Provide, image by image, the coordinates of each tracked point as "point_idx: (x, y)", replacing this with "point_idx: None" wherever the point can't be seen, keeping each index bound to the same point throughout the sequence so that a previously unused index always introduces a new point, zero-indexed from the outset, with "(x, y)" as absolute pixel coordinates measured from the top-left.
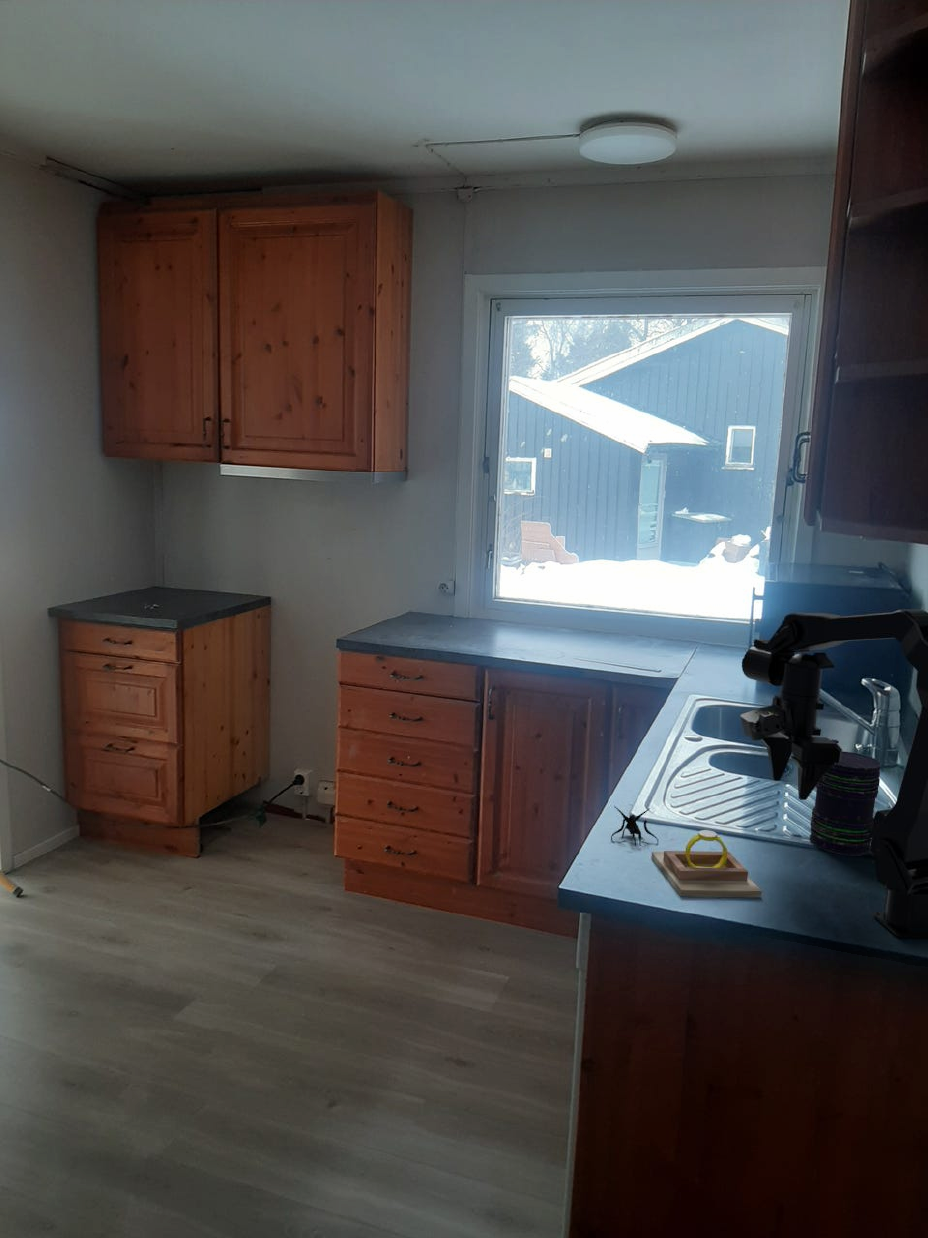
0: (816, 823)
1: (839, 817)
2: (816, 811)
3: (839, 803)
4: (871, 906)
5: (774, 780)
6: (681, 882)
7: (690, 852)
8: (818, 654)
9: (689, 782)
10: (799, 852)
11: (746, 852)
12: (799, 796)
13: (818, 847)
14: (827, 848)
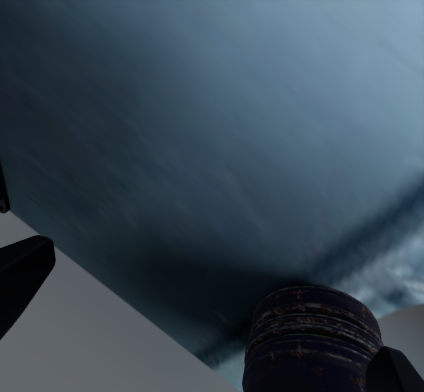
0: (337, 335)
1: (270, 369)
2: (347, 367)
3: None
4: (40, 172)
5: (384, 346)
6: None
7: None
8: None
9: None
10: (302, 231)
11: (353, 88)
12: (25, 241)
13: (312, 286)
14: (289, 291)
